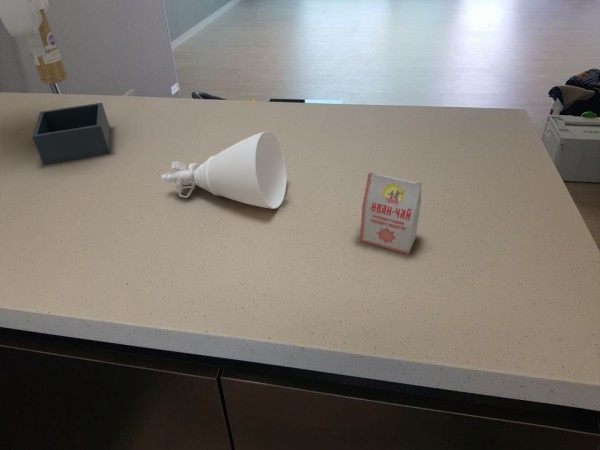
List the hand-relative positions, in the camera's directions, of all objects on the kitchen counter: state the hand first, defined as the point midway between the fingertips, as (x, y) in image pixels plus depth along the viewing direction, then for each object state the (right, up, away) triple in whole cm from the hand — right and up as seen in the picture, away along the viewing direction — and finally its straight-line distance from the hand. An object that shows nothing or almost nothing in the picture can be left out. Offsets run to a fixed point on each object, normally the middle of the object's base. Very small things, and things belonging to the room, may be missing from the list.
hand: (43, 50), depth 78 cm
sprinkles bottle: (0, -4, +3) cm, 5 cm away
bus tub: (+1, -14, +11) cm, 18 cm away
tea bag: (+56, -32, -15) cm, 66 cm away
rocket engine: (+33, -24, -3) cm, 41 cm away
